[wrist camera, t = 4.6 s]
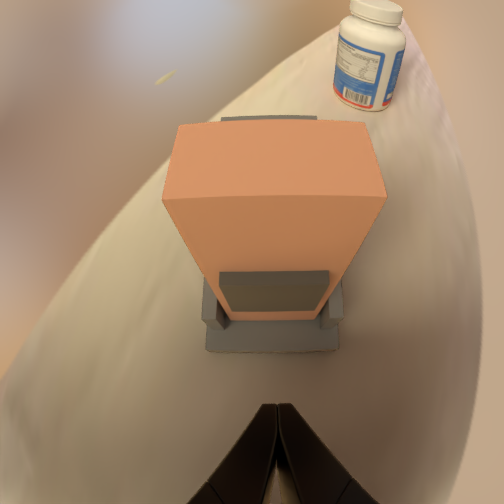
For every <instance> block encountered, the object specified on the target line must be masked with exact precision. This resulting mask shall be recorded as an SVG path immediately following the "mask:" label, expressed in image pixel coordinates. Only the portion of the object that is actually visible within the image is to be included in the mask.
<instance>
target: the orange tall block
mask: <svg viewBox="0 0 504 504" xmlns="http://www.w3.org/2000/svg"><path fill="white" fill-rule="evenodd" d="M386 199H387V193H386V189H385V186H384V182H383V179H382V175H381V172H380V168H379V165H378V162H377V159H376V155H375V152H374V149H373V146H372V143H371V140H370V137H369V134H368V132H367V129H366V126H365V123H362V122H349V121H333V120H306V119H263V120H236V121H220V122H206V123H195V124H186V125H179V128H178V132H177V135H176V140H175V143H174V147H173V151H172V155H171V159H170V164H169V168H168V172H167V177H166V181H165V186H164V190H163V195H162V201H163V203H164V205H165V207H166V209H167V211H168V213H169V214H170V216H171V218H172V220H173V222H174V224H175V225H176V227H177V229H178V231H179V233H180V235H181V236H182V238H183V240H184V242H185V243H186V245H187V247H188V249H189V251H190V252H191V254H192V256H193V258H194V259H195V261H196V263H197V265H198V266H199V268H200V270H201V272H202V273H203V275H204V277H205V278H206V280H207V282H208V283H209V285H210V287H211V289H212V290H213V292H214V294H215V295H216V297H217V299H218V300H219V302H220V304H221V305H222V307H223V309H224V310H225V312H226V314H227V315H228V317H229V318H230V320H235V321H272V320H314V319H315V318H316V316H317V315H318V313H319V312H320V310H321V309H322V307H323V306H324V304H325V303H326V301H327V299H328V298H329V296H330V295H331V293H332V292H333V290H334V288H335V287H336V285H337V284H338V282H339V281H340V279H341V277H342V276H343V274H344V272H345V271H346V269H347V268H348V266H349V264H350V263H351V261H352V259H353V258H354V256H355V254H356V253H357V251H358V249H359V247H360V246H361V244H362V242H363V241H364V239H365V237H366V235H367V234H368V232H369V230H370V228H371V226H372V225H373V223H374V221H375V219H376V217H377V216H378V214H379V212H380V210H381V208H382V206H383V205H384V203H385V201H386Z"/></svg>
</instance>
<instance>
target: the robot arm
mask: <svg viewBox="0 0 504 504" xmlns="http://www.w3.org/2000/svg"><path fill="white" fill-rule="evenodd" d="M276 465H277V474H278V480H279V486H280V492H281V498H282V504H379V503H378V502H377V501H376V500H374V499H373V498H372V497H371V496H370V495H369V494H368V493H367V492H366V491H365V490H364V489H363V488H362V487H361V485H360V484H359V483H358V482H357V481H356V480H355V479H354V478H352V476H351V475H350V474H349V472H348V471H347V470H346V469H345V468H344V467H343V466H342V464H341V463H340V462H339V461H338V460H337V459H336V457H335V456H334V455H333V454H332V453H331V451H330V450H329V449H328V448H327V447H326V446H325V444H324V443H323V442H322V441H321V440H320V438H319V437H318V436H317V435H316V433H315V432H314V431H313V430H312V429H311V427H310V426H309V425H308V424H307V422H306V421H305V420H304V419H303V417H302V416H301V415H300V414H299V412H298V411H297V410H296V409H295V407H294V406H293V405H292V404H291V403H280V404H278V405H276V404H262V406H261V407H260V408H259V410H258V411H257V413H256V414H255V416H254V417H253V419H252V420H251V422H250V423H249V424H248V426H247V427H246V429H245V430H244V432H243V433H242V434H241V436H240V437H239V439H238V440H237V441H236V443H235V444H234V445H233V447H232V448H231V450H230V451H229V452H228V454H227V455H226V456H225V458H224V459H223V460H222V462H221V463H220V464H219V465H218V467H217V468H216V469H215V471H214V472H213V473H212V475H211V476H210V477H209V478H208V480H207V481H208V482H207V481H206V482H205V483H204V484H203V485H202V487H201V488H200V489H199V490H198V491H197V493H196V494H195V495H194V496H193V497H192V498H191V499H190V500H189V501H188V502H187V504H269V503H270V498H271V492H272V487H273V481H274V475H275V469H276Z"/></svg>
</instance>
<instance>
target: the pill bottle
mask: <svg viewBox="0 0 504 504" xmlns="http://www.w3.org/2000/svg"><path fill="white" fill-rule="evenodd" d="M350 12H351V13H352V14H353V15H351V16H348V17H345V18H344V19H343V20H342V21H341V23H340V28H339V37H338V47H337V57H336V66H335V75H334V83H333V88H334V92H335V94H336V96H337V97H338V98H339V99H340V100H341V101H342V102H344V103H346V104H347V105H349V106H351V107H354V108H357V109H360V110H365V111H380V110H383V109H385V108H386V107H387V106H388V105H389V104H390V101H391V98H392V95H393V91H394V88H395V84H396V81H397V77H398V74H399V70H400V66H401V62H402V58H403V54H404V50H405V45H406V38H405V35H404V34H403V32H402V31H401V30H400V29H399V28H398V27H397V26H399V25H400V24H401V21H402V14H403V9H402V7H400V6H399V5H397V4H395V3H393V2H391V1H388V0H351V2H350Z"/></svg>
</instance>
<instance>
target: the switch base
mask: <svg viewBox="0 0 504 504" xmlns="http://www.w3.org/2000/svg"><path fill="white" fill-rule="evenodd" d="M263 119H306V120H317V116H299V115H269V116H239V117H222V118H221V121H236V120H263ZM343 318H344V310H343V297H342V286H341V279H340V281H339V282H338V284H337V285H336V287H335V288H334V290H333V292H332V293H331V295H330V296H329V298H328V299H327V301H326V303H325V304H324V306H323V307H322V309H321V310H320V312H319V313H318V315H317V316H316V318H315V319H314V320H272V321H235V320H230V318H229V317H228V315H227V314H226V312H225V310H224V309H223V307H222V305H221V304H220V302H219V300H218V299H217V297H216V295H215V294H214V292H213V290H212V289H211V287H210V285H209V283H208V282H207V280H206V278H205V277H204V288H203V303H202V320H203V321H204V322H205V323H206V324H207V332H206V350H207V351H209V352H229V353H291V352H319V351H335V350H337V349H339V336H338V323H339V322H340V321H341V320H342V319H343Z"/></svg>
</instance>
